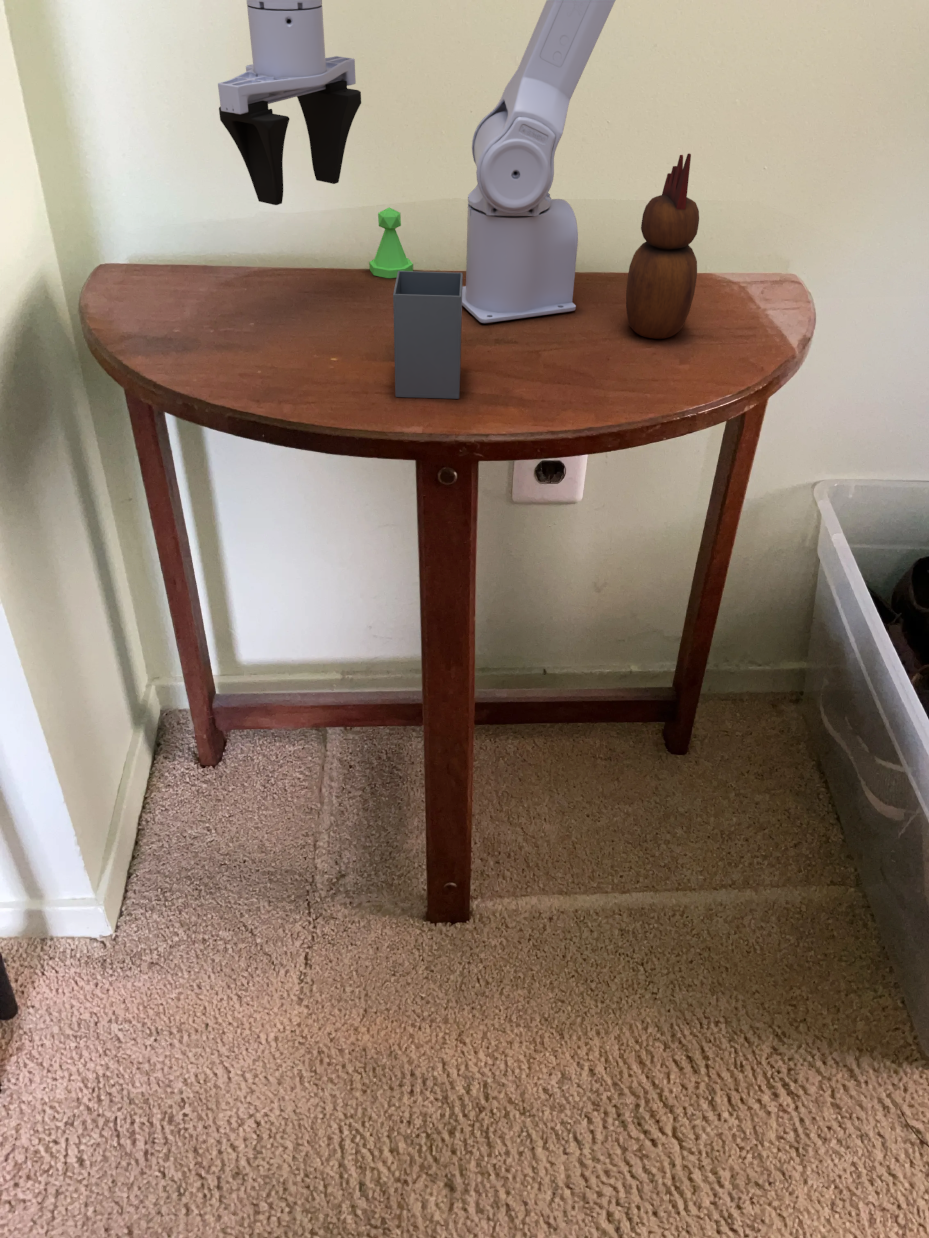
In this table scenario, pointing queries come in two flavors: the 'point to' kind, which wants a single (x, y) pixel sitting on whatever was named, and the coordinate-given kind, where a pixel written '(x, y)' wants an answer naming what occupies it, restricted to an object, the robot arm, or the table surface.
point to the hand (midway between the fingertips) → (299, 191)
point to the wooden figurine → (664, 260)
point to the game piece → (390, 248)
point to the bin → (427, 334)
